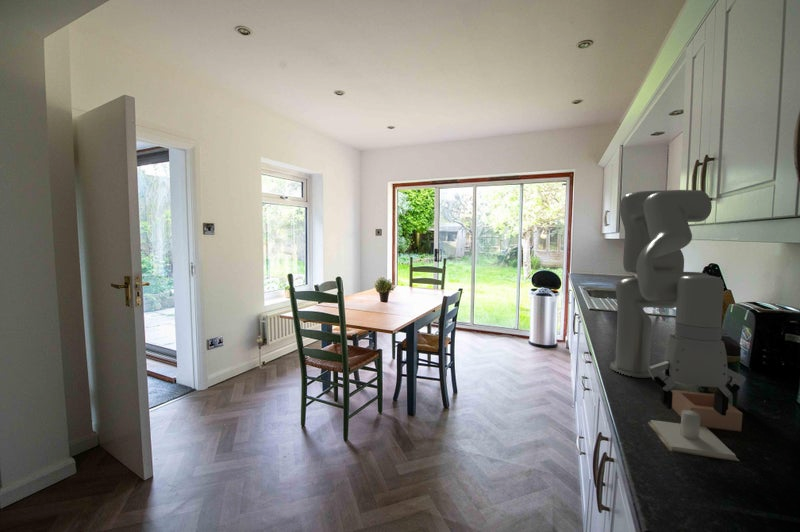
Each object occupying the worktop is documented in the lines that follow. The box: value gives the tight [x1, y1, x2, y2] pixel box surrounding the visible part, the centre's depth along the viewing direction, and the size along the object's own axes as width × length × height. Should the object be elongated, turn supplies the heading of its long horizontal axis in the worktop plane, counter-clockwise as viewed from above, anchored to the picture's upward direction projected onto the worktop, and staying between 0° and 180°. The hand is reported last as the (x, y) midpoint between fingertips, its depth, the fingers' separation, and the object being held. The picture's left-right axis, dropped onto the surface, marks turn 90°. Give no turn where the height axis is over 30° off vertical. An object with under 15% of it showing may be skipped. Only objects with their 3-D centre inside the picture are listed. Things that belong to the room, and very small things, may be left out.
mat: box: [647, 421, 740, 462], centre depth 78 cm, size 12×12×1 cm
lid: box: [650, 410, 737, 459], centre depth 77 cm, size 11×11×6 cm
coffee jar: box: [697, 335, 742, 409], centre depth 94 cm, size 10×8×19 cm
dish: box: [670, 389, 743, 433], centre depth 87 cm, size 10×10×5 cm
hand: (692, 409), depth 76 cm, fingers open, 9 cm apart
